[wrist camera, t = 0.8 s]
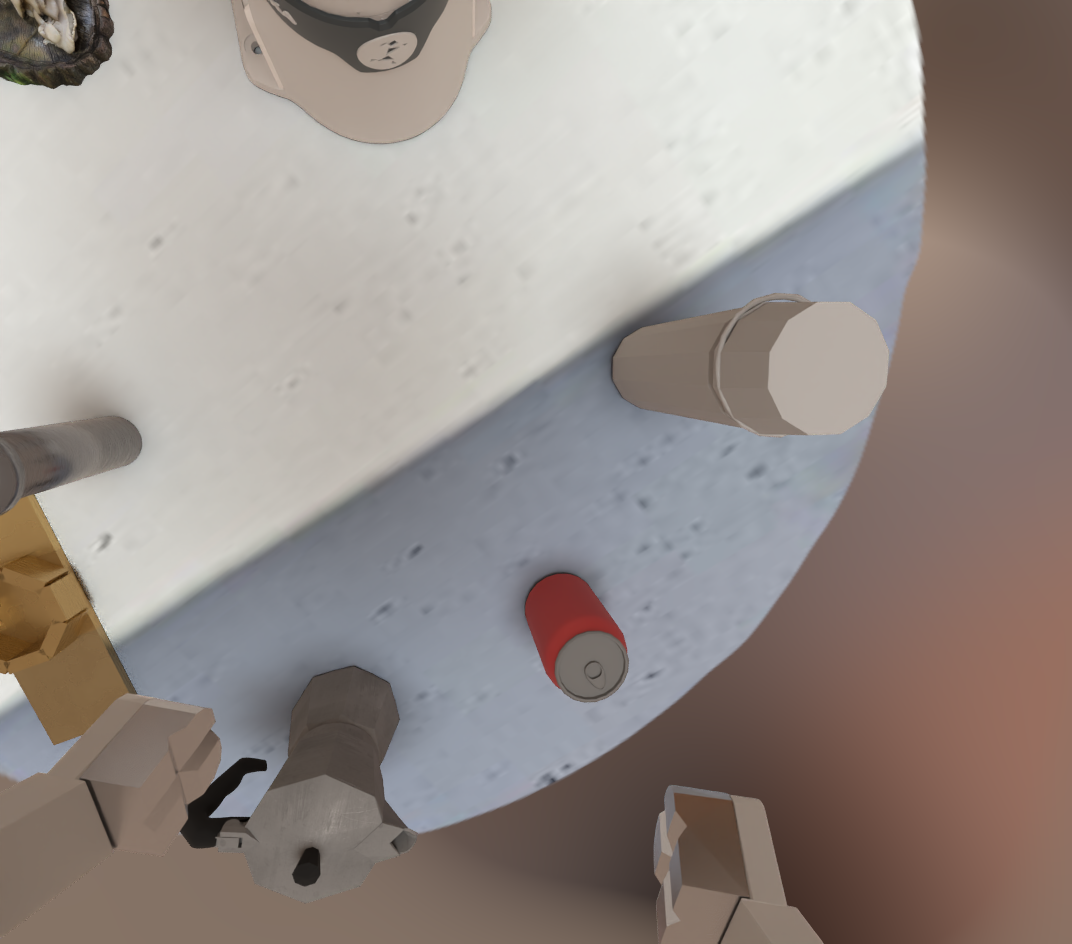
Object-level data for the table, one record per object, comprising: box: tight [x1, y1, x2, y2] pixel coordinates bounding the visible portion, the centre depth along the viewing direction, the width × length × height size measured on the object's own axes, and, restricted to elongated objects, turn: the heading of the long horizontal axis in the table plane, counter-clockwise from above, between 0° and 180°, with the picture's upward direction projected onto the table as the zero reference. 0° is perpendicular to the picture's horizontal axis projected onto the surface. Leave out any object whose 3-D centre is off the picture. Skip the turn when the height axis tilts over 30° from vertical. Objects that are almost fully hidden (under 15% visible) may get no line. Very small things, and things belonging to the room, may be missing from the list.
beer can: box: [525, 574, 629, 702], centre depth 50 cm, size 7×7×12 cm
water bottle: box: [613, 293, 889, 437], centre depth 41 cm, size 9×8×25 cm
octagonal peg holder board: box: [0, 494, 137, 745], centre depth 46 cm, size 23×8×4 cm, turn 18°
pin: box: [0, 416, 142, 516], centre depth 40 cm, size 5×5×16 cm
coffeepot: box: [180, 667, 418, 903], centre depth 45 cm, size 15×9×18 cm, turn 79°
